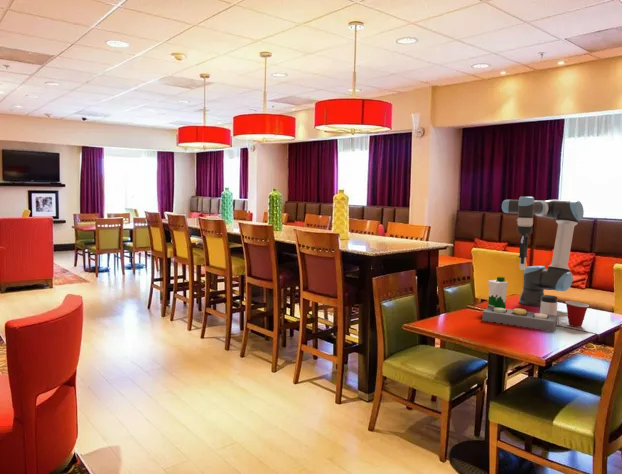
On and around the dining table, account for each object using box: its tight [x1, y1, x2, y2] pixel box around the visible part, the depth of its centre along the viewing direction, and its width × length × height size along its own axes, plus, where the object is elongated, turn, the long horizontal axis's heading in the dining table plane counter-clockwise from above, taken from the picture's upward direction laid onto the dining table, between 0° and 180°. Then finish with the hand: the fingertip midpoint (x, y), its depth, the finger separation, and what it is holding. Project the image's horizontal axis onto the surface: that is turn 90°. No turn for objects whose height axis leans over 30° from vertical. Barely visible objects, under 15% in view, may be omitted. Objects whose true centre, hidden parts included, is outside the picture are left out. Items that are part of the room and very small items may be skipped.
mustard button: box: [513, 307, 527, 315], centre depth 257 cm, size 6×6×2 cm
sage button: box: [494, 308, 507, 313], centre depth 263 cm, size 6×6×2 cm
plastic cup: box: [565, 300, 590, 328], centre depth 254 cm, size 11×11×12 cm
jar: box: [539, 294, 559, 316], centre depth 268 cm, size 9×8×12 cm
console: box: [481, 306, 559, 332], centre depth 258 cm, size 14×34×5 cm, turn 57°
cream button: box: [534, 312, 547, 319], centre depth 252 cm, size 6×6×2 cm
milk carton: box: [487, 276, 509, 309], centre depth 278 cm, size 9×9×20 cm
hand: (522, 269), depth 266 cm, fingers closed
